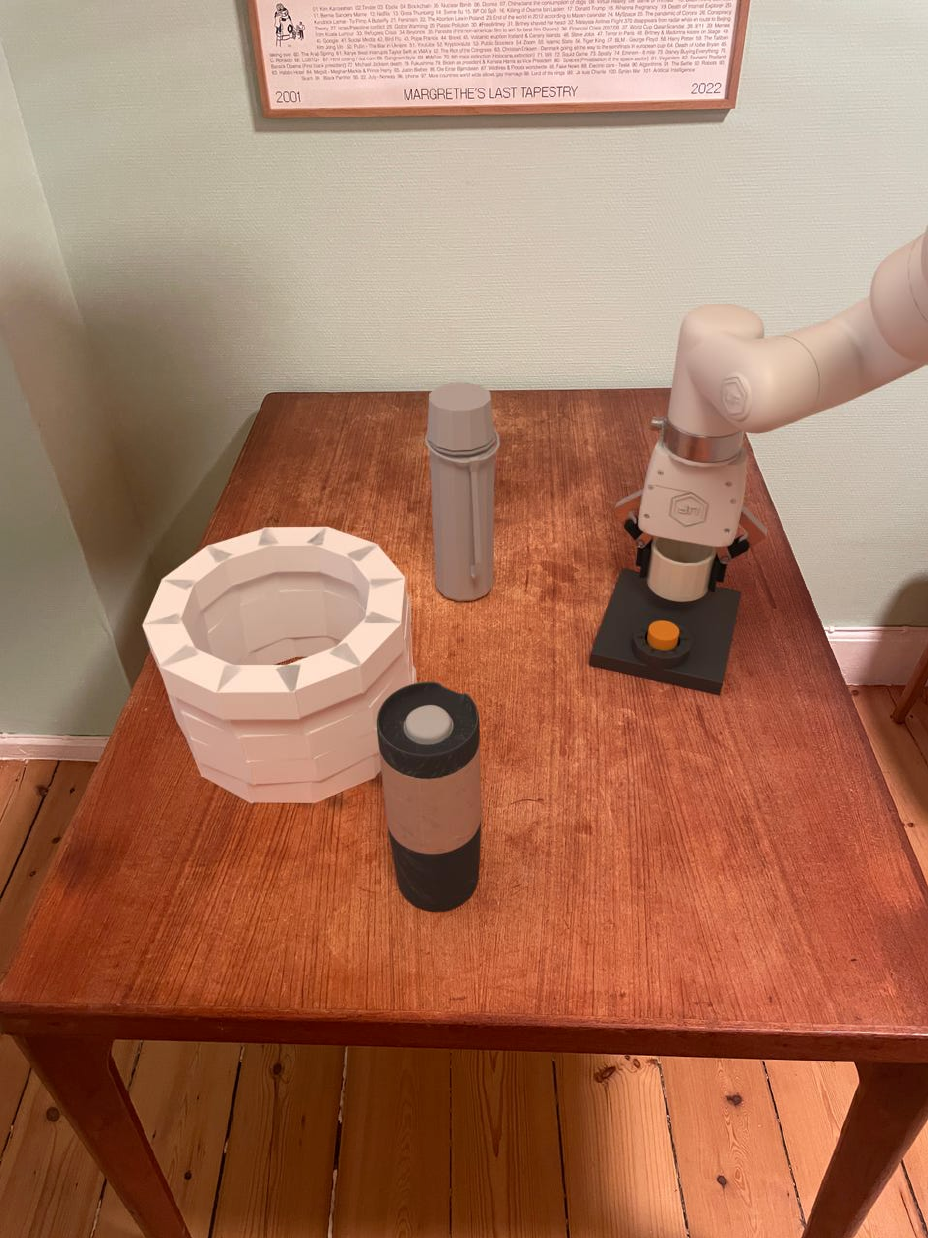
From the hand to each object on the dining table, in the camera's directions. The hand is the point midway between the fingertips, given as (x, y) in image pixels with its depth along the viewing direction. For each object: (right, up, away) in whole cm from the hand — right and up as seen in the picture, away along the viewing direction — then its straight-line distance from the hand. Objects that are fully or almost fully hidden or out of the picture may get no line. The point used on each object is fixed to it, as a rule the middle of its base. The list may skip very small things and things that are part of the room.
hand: (678, 576), depth 100 cm
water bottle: (-24, -1, +8) cm, 25 cm away
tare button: (-3, -7, -4) cm, 9 cm away
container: (-41, -15, -8) cm, 44 cm away
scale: (-1, -6, +1) cm, 7 cm away
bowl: (0, -1, +1) cm, 1 cm away
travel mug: (-26, -27, -22) cm, 44 cm away
